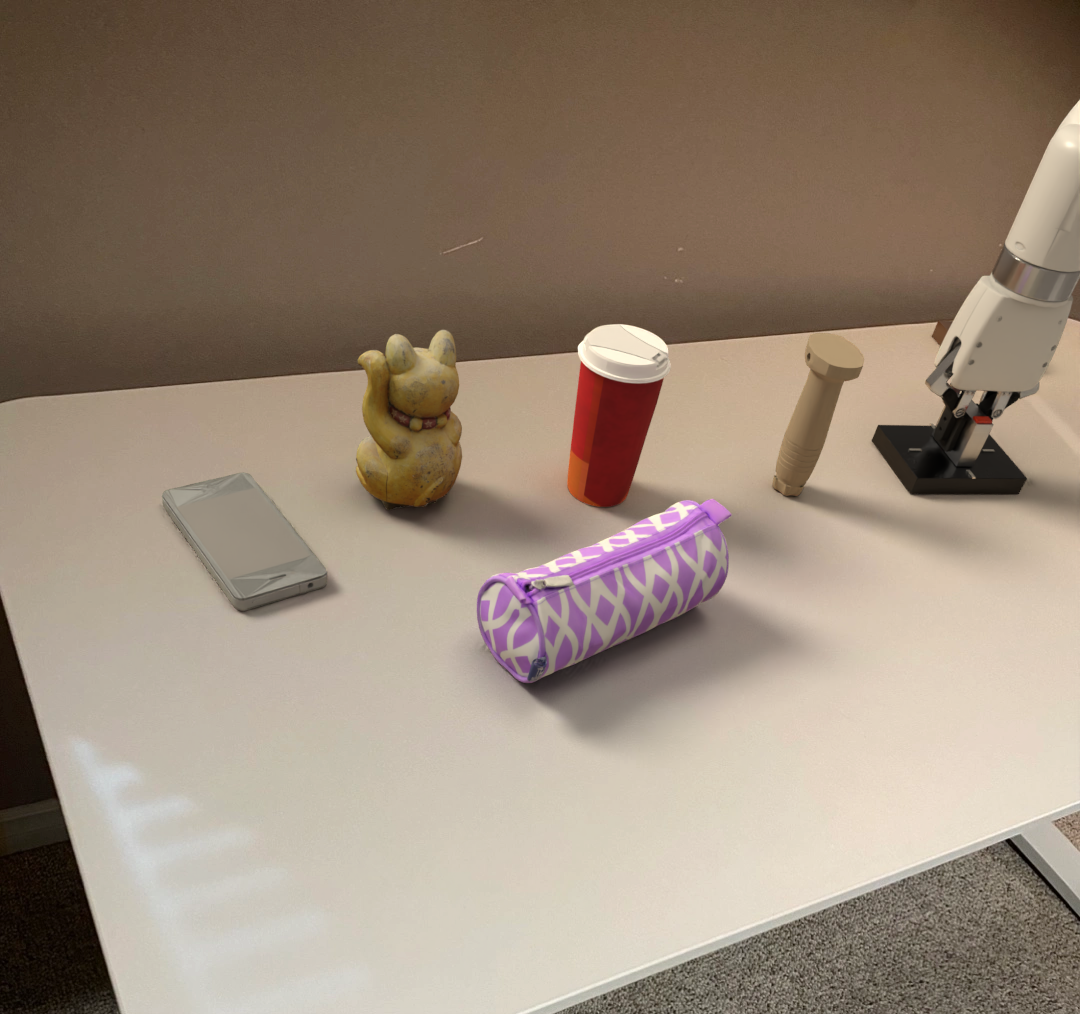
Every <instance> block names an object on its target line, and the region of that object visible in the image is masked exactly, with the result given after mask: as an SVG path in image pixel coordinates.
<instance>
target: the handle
mask: <svg viewBox="0 0 1080 1014" xmlns="http://www.w3.org/2000/svg"><path fill="white" fill-rule="evenodd" d="M804 361H805V365H806V366H807V367H808V368H809V372H808V375H807V378H806V381H805V383H804V385H803V388H802V389H801V390H802V391H801V392H800V395H799V398H798V401H797V403H796V405H795V408H794V410H793V412H792V414H791V417H790V420H789V422H788V425H787V427H786V430H785V432H784V435H783V439H782V441H781V444H780V448H779V451H778V456H777V459H776V464H775V475H773V479H772V484H771V485H772V488H773V489H774V490H775V491H778V492H779V493H781V494H782V495H783V496H785V497H788V496H794V497H798V496H800V495H801V494H802V491H803V490H804V487H805V485H806V483H807V482H808V480H809V478H811V475H812V474H813V472H814V471H815V468H816V466H817V464H818V461H819V459H820V456H821V453H822V451H823V448H824V445H825V443H826V441H827V437H828V433H829V430H830V427H831V423H832V420H833V417H834V412H835V411H836V410H835V409H836V407H837V403H838V400H839V397H840V394H841V391H842V388H843V385H844V382H850V381H853V380H856V379H858V378H859V377H860V375H861V372H862V370H863V367H864V363H865V356H864V355H863V353H862V352H861V350H860V348H859V347H858V346H856V345H855V344H854V343H853V342H852V341H850V340H848V339H847V338H845V337H843V336H841V335H838V334H835V333H829V332H815V333H811V334H809V337H808V341H807V343H806V346H805V352H804Z"/></svg>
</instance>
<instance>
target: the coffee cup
mask: <svg viewBox="0 0 1080 1014" xmlns="http://www.w3.org/2000/svg"><path fill="white" fill-rule="evenodd" d="M583 337H584V338H583V340H582V341H581V342H580V343H579V344H578V346H577V353H578V354H577V355H578V358H579V360H580V363H579V364H580V365H579V373H578V374H579V375H578V382H577V383H578V384H577V390H576V397H575V398H576V399H575V407H574V415H573V424H572V433H571V442H570V449H569V450H570V451H569V459H568V470H567V483H566V484H567V490H568V492H569V494H571V496H573V498H575V499H576V500H578V501H579V502H581V503H584V504H585V505H589V506H593V507H599V508H611V507H616V506H618V505H621V504H622V503H623V502H624V501H626V499H627V497H628V495H629V492H630V490H631V486H632V483H633V481H634V477H635V474H636V471H637V468H638V464H639V461H640V458H641V455H642V451H643V448H644V445H645V443H646V438H647V435H648V432H649V429H650V426H651V423H652V419H653V418H654V417H653V416H654V414H655V412H656V411H655V410H656V407H657V404H658V400H659V398H660V394H661V390H662V387H663V383H664V380H665V378H666V377H667V376H668V375H669V374H670V372H671V369H672V364H671V360H670V358H669V357H670V355H669V354H670V353H669V348H668V345H667V344H666V343H665V341H664V340H663V339H662V338H661V337H659V336H658V335H656V334H655V333H653V332H651V331H649V330H647V329H644V328H641V327H638V326H634V325H629V324H623V323H615V324H603V325H600V326H597V327H595V328H593V329H592V330H591V331H590V332H588V333H587V334H586V335H584V336H583Z"/></svg>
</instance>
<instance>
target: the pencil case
mask: <svg viewBox="0 0 1080 1014" xmlns="http://www.w3.org/2000/svg"><path fill="white" fill-rule="evenodd" d="M732 516H733V513H732V512H730V510H728V509H727V508H726V507H725V506H724V505H723V504H721V503H720V502H718V501H717V500H716V499H715V498H710V499H706V500H705V501H703V502H702V503H701V504H700V503H698V502H697V501H695V500H692V499H685V500H681V501H677V502H676V503H673V504H672V505H670V506H669V507H667V509H665V511H662V512H660V513H659V512H658V513H656V514H653V515H651V516H648V517H646V518H643V519H642V520H639V521H637V522H636V523H635V524H632V525H630V526H629V527H627V528H625V529H624V530H622V531H620V532H617V533H615V534H613V535H610V536H608V537H607V538H604V539H602V540H600V541H598V542H596V543H594V544H592V545H588V546H585V547H581V548H579V549H576V550H573V551H570V552H569V553H565V554H563V555H561V556H559V557H557V558H555V559H553V560H551V561H549V562H547V563H543V564H541V565H539V566H536V567H529V568H526V569H524V570H521V571H517V572H514V573H513V572H501V573H495V574H493V575H491V576H489V577H488V578H487V579H486V580H485V581H484V582H483V584H482V586H481V587H480V589H479V590H478V594H477V599H476V619H477V625H478V629H479V632H480V636H481V637H482V639H483V642H484V644H485V646H487V648H488V650H489V651H490V653H491V655H492V656H493V658H494V659H495V661H497V663H499V665H501V666H502V667H503V668H504V669H505V670H507V672H509V674H510V675H512V677H514V678H515V679H516V680H517V681H519V682H520V683H523V684H524V683H525V684H532V683H535V682H537V681H539V680H541V679H543V678H545V677H547V676H549V675H552V674H553V673H555V672H558V671H560V670H564V669H566V668H568V667H570V666H573V665H576V664H578V663H580V662H582V661H585V660H586V659H589V658H590V657H593V656H595V655H598V654H599V653H602V652H605V651H607V650H608V649H611V648H613V647H615V646H617V645H620V644H622V643H624V642H626V641H629V640H631V639H633V638H636V637H637V636H640V635H642V634H644V633H647V632H648V631H650V630H652V629H654V628H656V627H658V626H660V625H662V624H665V623H668V622H669V621H671V620H675V619H676V618H678V617H680V616H681V615H683V614H685V613H687V612H688V611H690V610H691V611H692V609H694V608H696V607H698V606H700V604H701V603H704V602H707V601H710V600H711V599H713V598H715V597H716V596H717V595H718V594H719V592H720V591H721V589H722V588H723V586H724V585H725V582H726V580H727V578H728V573H729V572H728V571H729V564H730V562H729V559H730V558H729V557H730V556H729V549H728V544H727V540H726V537H725V535H724V533H723V531H722V530H721V527H720V526H719V525H720V524H722V523H724V522H725V521H726V520H729V518H730V517H731V518H732Z"/></svg>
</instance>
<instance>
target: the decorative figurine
mask: <svg viewBox="0 0 1080 1014" xmlns="http://www.w3.org/2000/svg"><path fill="white" fill-rule="evenodd" d="M385 345H386V347H385V353H383V352H381V351H379V350H377V349H370V350H367V351H365V352H363V353H362V354H361V355H359V357H358V359H357V364H358V366H360V367H362V369H363V370H364V372H365V374H366V376H367V385H366V389H365V392H364V395H363V398H362V405H361V413H362V419H363V423H364V425H365V427H366V429H367V431H368V433H369V434H370V436H369V435H368V436H367V437H365V438H363V439H362V440H361V441H360V443H359V445H357V450H356V455H355V460H356V466H355V472H356V475H357V478H358V480H359V482H360V484H361V486H362V487H363V488H364V489H365V491H366V492H368V493H369V495H371V496H373V497H374V498H375V499H378V500H379V501H380V502H381V503H382V504H383V507H384V508H385V510H386V511H392V510H395V509H399V508H400V509H401V508H406V507H408V508H409V507H414V508H422V507H424V508H425V507H426V506H427V505H430V504H435V503H437V500H440V499H442V498H444V497H445V496H447V495H448V493H449V492H450V491H451V489H452V488H453V486H454V485H455V484H456V481H457V479H458V476H459V473H460V469H461V465H462V460H463V450H462V445H461V443H460V440H461V438H462V433H463V432H462V431H463V426H462V422H461V420H460V418H459V417H458V416H457V414H455V413H454V412H453V411H452V410H451V407H452V405H453V404H454V403H455V401H456V399H457V397H458V394H459V389H460V377H459V374H458V373H459V372H458V369H457V366H456V364H457V350H456V343H455V339H454V335H453V334H452V333H451V332H450V331H449V330H447V329H440V330H438V331H437V332H436V333H435V334H434V335H433V337H432V339H431V340H430V343H429V345H428V348H425V347H424V348H423V347H413V345H412V344H411V342H410V341H409V339H408V338H407V337H406V336H404V335H402V334H400V333H395V334H392V335H390V337H389V338H388V340H387V342H386V344H385Z"/></svg>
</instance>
